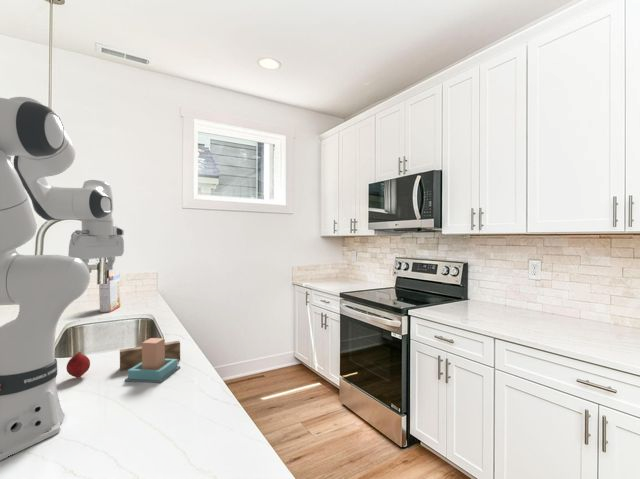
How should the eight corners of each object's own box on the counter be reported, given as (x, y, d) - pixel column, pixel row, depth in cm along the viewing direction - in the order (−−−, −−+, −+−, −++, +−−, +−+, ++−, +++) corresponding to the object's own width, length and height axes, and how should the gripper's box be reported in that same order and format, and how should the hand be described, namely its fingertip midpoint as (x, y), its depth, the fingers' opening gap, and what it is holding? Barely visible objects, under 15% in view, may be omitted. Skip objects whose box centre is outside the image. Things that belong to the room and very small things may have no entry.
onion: (77, 382, 98) (77, 355, 98) (61, 381, 100) (61, 354, 99) (94, 374, 104) (94, 349, 104) (79, 373, 105) (79, 347, 105)
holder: (160, 383, 98) (160, 372, 98) (124, 381, 99) (124, 371, 99) (180, 367, 109) (180, 358, 109) (147, 366, 110) (147, 357, 110)
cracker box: (109, 307, 199) (109, 272, 199) (120, 306, 200) (120, 272, 200) (98, 312, 185) (98, 275, 185) (110, 312, 187) (110, 274, 186)
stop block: (156, 375, 102) (156, 343, 101) (142, 375, 102) (141, 342, 102) (164, 369, 106) (164, 338, 106) (151, 369, 107) (151, 338, 106)
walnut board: (179, 357, 118) (179, 340, 118) (180, 359, 116) (180, 342, 116) (119, 368, 109) (119, 349, 109) (119, 370, 107) (119, 352, 107)
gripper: (81, 230, 101) (81, 275, 101) (127, 230, 121) (127, 268, 121) (62, 230, 101) (62, 275, 102) (111, 230, 122) (111, 268, 122)
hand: (98, 271), depth 112 cm, fingers open, 8 cm apart
